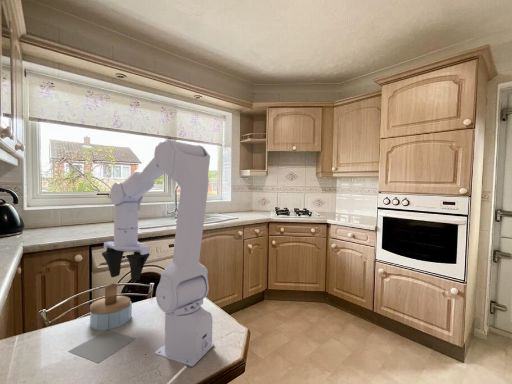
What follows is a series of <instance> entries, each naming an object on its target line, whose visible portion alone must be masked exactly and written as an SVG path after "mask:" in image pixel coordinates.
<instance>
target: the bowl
mask: <svg viewBox="0 0 512 384" xmlns="http://www.w3.org/2000/svg"><path fill="white" fill-rule="evenodd" d="M132 308H133V302H132V301H131V300H130V305H129V306H128V307H127V308H125V309H123V310H121V311H118V312H115V313H110V314H93V313H91V312H90V311H89V324H90V328H91V329H94V330H99V331H103V330H105V331H107V330H111V329H114V328H119V327H121V326H123V325H125V324H127V323H128V322H130V320H131V317H132V315H133V314H132Z"/></svg>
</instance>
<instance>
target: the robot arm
mask: <svg viewBox="0 0 512 384" xmlns="http://www.w3.org/2000/svg"><path fill="white" fill-rule="evenodd" d="M153 155H154V157H153V158H152V159H151V160H150V161H149V163H148V164H147V165H146V166H145V167H144V169H135V170H134V171H133V172H132V173H131V174H130V176H128V177H127V178H125V180H124V181H123V182H114V183H113V184H112V186H111V187H110V192H109V196H110V201H111V203H112V204H113V205H114V212H113V213H114V215H113V216H114V217H113V218H114V219H113V221H114V222H113V241H111V240H110V241H105V242H103V250H105V251H101V256H102V257H103V258H104V260H105V262H106V264H107V267H108V270H109V274H110V277H111V278H115V277H119V276H120V274H121V267H122V260H123V255H124V253H125V252H127V253H131V254H129V255H126V258H127V261H128V263H129V267H130V268H129V269H130V279H131V282H136V281H139V280H140V279H141V276H142V272H143V268H144V266H145V263H146V262H147V260H148V258H149V256H150V246H149V245H145V244H142V243H141V242H140V241H138V240H139V239H138V237H139V234H138V233H139V230H138V229H139V225H138V224H139V212H140V210H141V203H142V202H143V198H144V195H145V194H146V193H148V192H149V191H151V189H153V188H154V185H155V180H157V179H159V178H160V177H161V176H163V175H165V174H166V175H167V176H168V177H169V178H170V179H171V180H173V181H174V182H176V183H177V185H178V186H179V188H180V190H179V200H178V210H177V218H176V227H175V237H174V245H173V255H172V261H171V263H169V264H168V266H166V267H165V269H164V270H163V271H162V272H161V273H160V280H159V283H158V285H157V287H156V289H155V290H156V291H155V300H156V303H157V305H158V308H159V309H160V310H162V312H164V345H162V346H161V347H159V348H158V349H157V350H155V352H154V355H157V356H159V357H163V358H166V359H169V360H170V361H174V362H177V363H182V364H184V365H186V366H188V367H194V366H195V365H196V364H197V363H198V362H199V361H200V360H201V359H202V358H203V357H204V356H205V355H206V353H208V352H209V351H210V350H211V348H213V347H214V346H215V342H214V341H213V316H212V313H211V312H210V311H208V310H206V309H205V308H203V307H202V305H204V299H205V298H206V297H207V296H208V294H209V290H210V289H209V280H208V273H209V272H208V271H209V270H208V269H207V267H206V266H205V265H203V264H202V263H201V262H200V258H201V257H200V256H201V248H202V239H203V231H204V225H205V223H204V222H205V215H206V209H207V208H206V207H207V199H208V192H209V191H208V190H209V180H210V179H209V169H210V162H211V161H210V160H211V155H210V154H209V152H208V151H207V150H206V148H205V147H204V146H202V145H199V144H198V145H197V144H196V145H195V144H191V143H186V142H181V141H177V140H172V139H169V138H164V139H162V140H161V141H160V142H159V143H158V144H157V145H156V146H155V149H154V154H153Z"/></svg>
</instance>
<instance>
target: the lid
mask: <svg viewBox="0 0 512 384" xmlns="http://www.w3.org/2000/svg"><path fill="white" fill-rule="evenodd" d="M117 291H118V284H116V283H110V284H106V285H105V286H104V297H103V298H100V299H97V300H95V301H94V302H92V303H91V304H90V305H89V313H90V312H91V313H93V314H110V313H115V312H118V311H121V310H123V309H125V308H127V307H128V306H129V305H130V301H131V298H130V297H129V296H126V295H117V293H118V292H117Z"/></svg>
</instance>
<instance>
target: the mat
mask: <svg viewBox="0 0 512 384" xmlns="http://www.w3.org/2000/svg"><path fill="white" fill-rule="evenodd" d="M135 340H137V338H136V337H132V336H130V335H126V334H123V333H120V332H117V331H114V330H111V329H106V330H105V331H103V332H101V333H100V334H98V335H96V336H94V337H92V338H91V339H88V340H86V341H84V342H83V343H81V344H79V345H77V346H76V347H73V348H72V349H71V348H70V350H68V351H67V352H68V353H71V354H73V355H76V356H79V357H81V358H84V359H85V360H89V361H91V362H94V363H96V364H100V363H101V362H103V361H104V360H106V359H108V358H109V357H110V356H112V355H114V354H115V353H117V352H118V351H120V350H122V349H123V348H124V347H126V346H128V345H129V344H131V343H133V342H134V341H135Z"/></svg>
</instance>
